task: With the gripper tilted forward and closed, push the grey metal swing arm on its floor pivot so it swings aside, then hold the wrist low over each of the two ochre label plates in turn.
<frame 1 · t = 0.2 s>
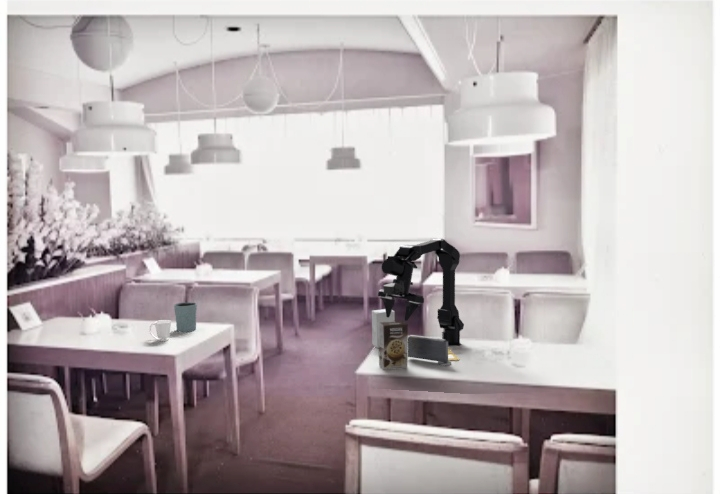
hand: (396, 319, 237), 15 cm above the table, tool tilted 15°, fingers open, 9 cm apart
skincare box: (383, 346, 259), on the table
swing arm: (427, 348, 234), point 5 cm above the table, hinge at 0.0°
cup: (160, 340, 272), on the table
near label plate: (443, 351, 249), on the table
teal tapered pot: (186, 330, 291), on the table
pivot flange: (444, 364, 231), on the table
left label plate: (449, 357, 240), on the table
coffee box: (393, 367, 228), on the table
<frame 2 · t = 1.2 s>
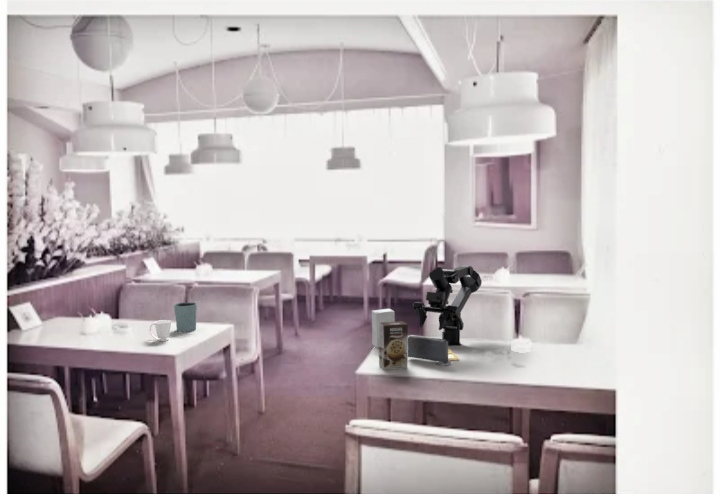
hand: (429, 328, 243), 10 cm above the table, tool tilted 45°, fingers open, 8 cm apart
nothing on the table moved.
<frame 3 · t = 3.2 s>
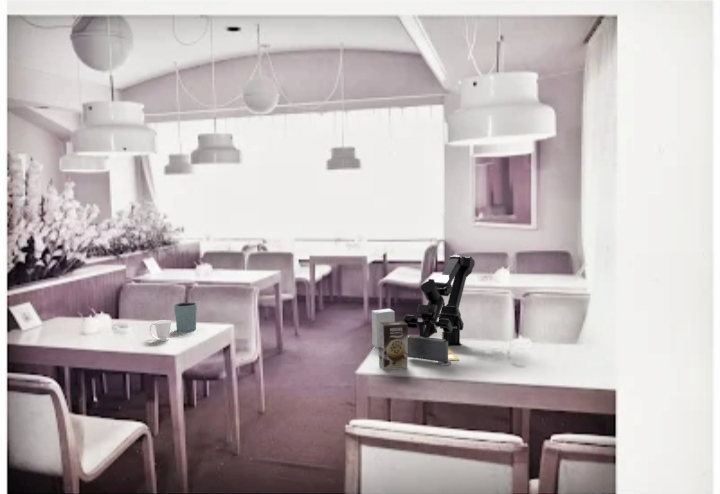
hand: (421, 342, 237), 7 cm above the table, tool tilted 45°, fingers closed, pressing on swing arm
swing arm: (427, 348, 234), point 5 cm above the table, hinge at 0.9°, touching gripper
everything else where it was.
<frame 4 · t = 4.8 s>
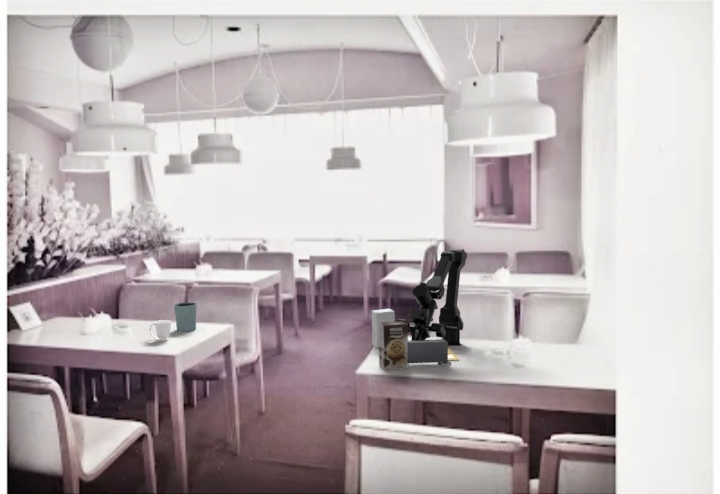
hand: (413, 347, 231), 6 cm above the table, tool tilted 45°, fingers closed
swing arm: (426, 351, 230), point 5 cm above the table, hinge at 36.9°, touching gripper
everything else where it was.
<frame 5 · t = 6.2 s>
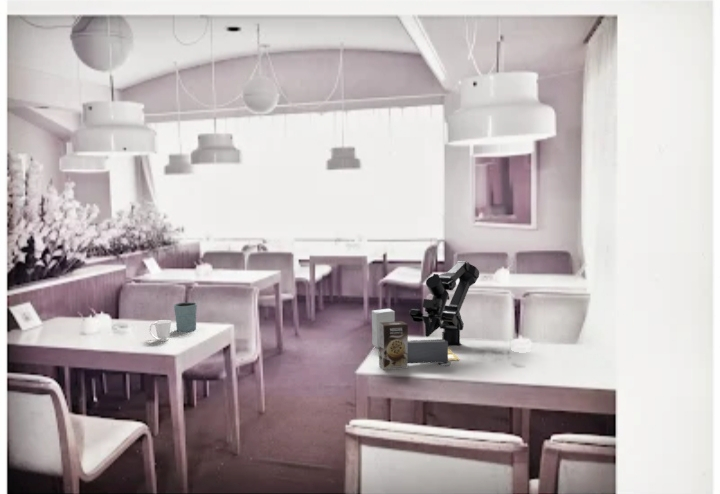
hand: (426, 336, 241), 8 cm above the table, tool tilted 45°, fingers closed
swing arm: (426, 351, 230), point 5 cm above the table, hinge at 37.0°
everything else where it was.
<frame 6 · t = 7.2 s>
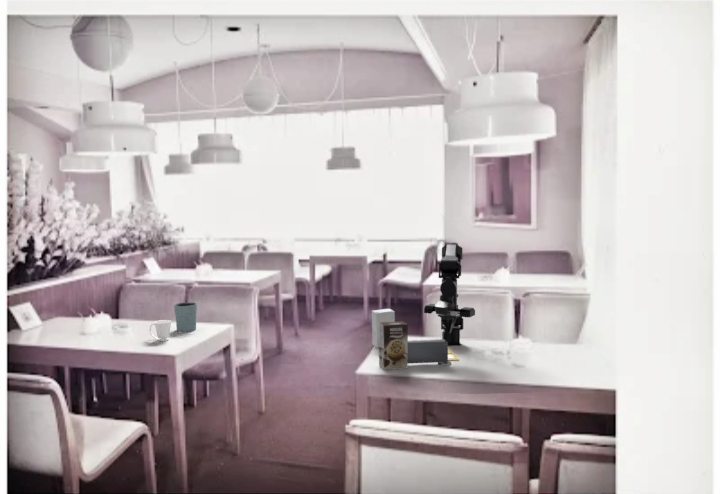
hand: (449, 333, 239), 10 cm above the table, tool pointing down, fingers closed
nothing on the table moved.
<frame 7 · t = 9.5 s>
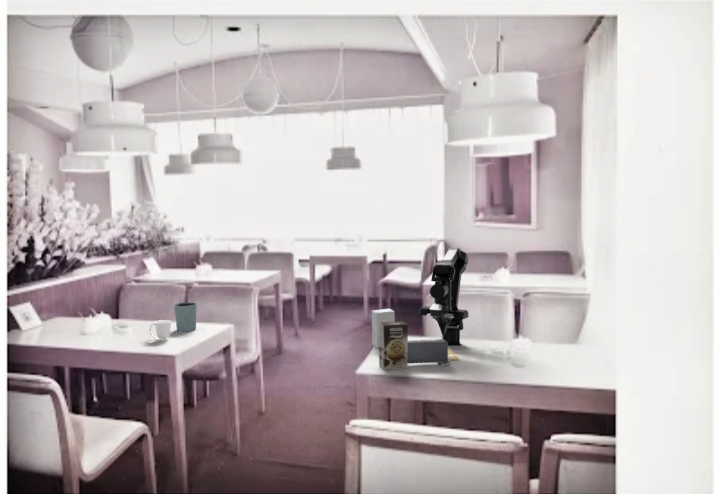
hand: (443, 334, 248), 7 cm above the table, tool pointing down, fingers closed
nothing on the table moved.
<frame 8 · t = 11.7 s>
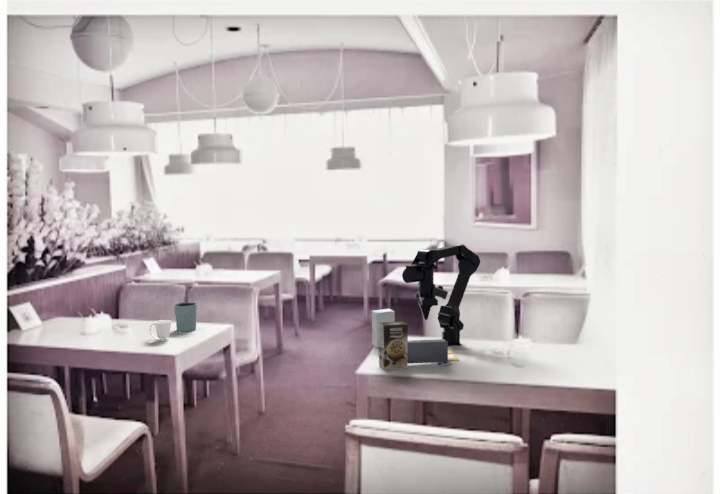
hand: (426, 319, 252), 12 cm above the table, tool pointing down, fingers closed
nothing on the table moved.
at the end: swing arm at +37° (first picture: +0°) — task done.
